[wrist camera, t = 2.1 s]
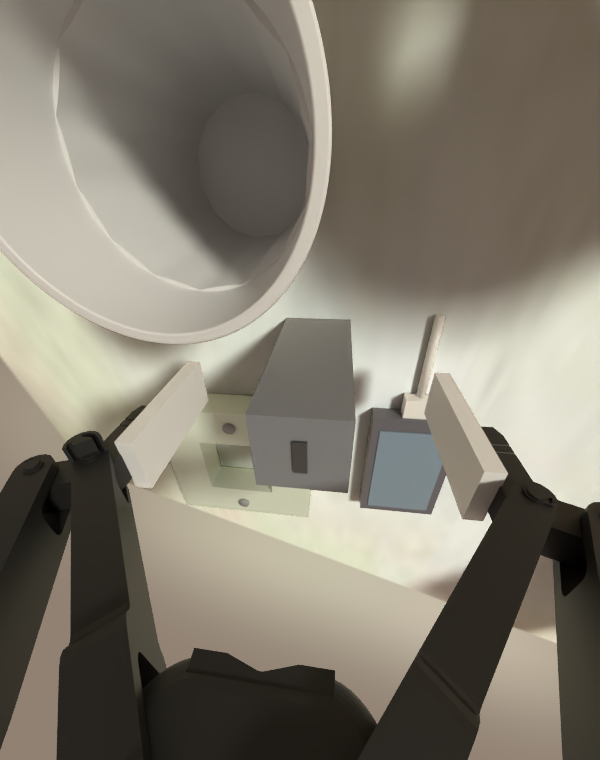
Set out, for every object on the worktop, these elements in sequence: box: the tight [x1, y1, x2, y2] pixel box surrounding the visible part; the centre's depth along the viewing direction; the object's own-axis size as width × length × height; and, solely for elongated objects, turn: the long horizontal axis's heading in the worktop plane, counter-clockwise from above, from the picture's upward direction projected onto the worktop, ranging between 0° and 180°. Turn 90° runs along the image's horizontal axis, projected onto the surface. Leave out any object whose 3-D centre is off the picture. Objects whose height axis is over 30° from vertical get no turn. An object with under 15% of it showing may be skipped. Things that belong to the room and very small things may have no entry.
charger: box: [245, 318, 356, 493], centre depth 16 cm, size 4×4×10 cm
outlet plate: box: [170, 393, 311, 517], centre depth 26 cm, size 12×12×3 cm
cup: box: [0, 0, 332, 344], centre depth 10 cm, size 8×8×12 cm
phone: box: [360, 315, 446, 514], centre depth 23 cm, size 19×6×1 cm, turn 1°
